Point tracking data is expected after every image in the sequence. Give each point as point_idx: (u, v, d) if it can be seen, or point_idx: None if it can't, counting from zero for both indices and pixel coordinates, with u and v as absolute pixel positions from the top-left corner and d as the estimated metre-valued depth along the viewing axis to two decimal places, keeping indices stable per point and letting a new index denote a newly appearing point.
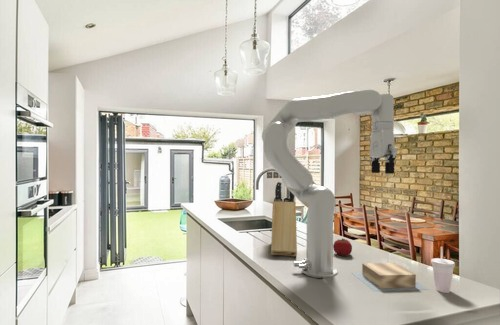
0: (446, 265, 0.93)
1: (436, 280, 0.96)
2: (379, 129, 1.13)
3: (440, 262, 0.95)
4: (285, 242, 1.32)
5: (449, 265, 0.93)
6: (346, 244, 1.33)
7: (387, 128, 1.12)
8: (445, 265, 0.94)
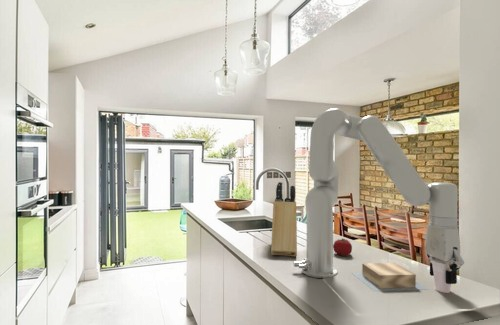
0: None
1: (436, 280, 0.96)
2: (441, 226, 0.94)
3: (440, 262, 0.95)
4: (285, 242, 1.32)
5: None
6: (346, 244, 1.33)
7: (451, 226, 0.93)
8: (445, 265, 0.94)
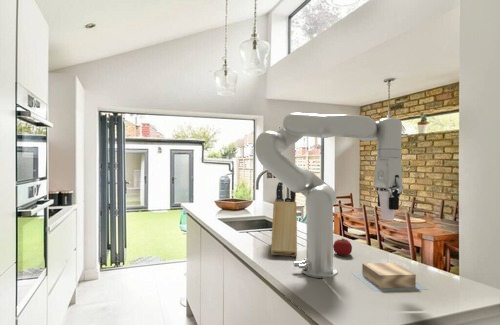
0: None
1: (381, 208, 1.04)
2: (385, 157, 1.01)
3: (385, 191, 1.03)
4: (285, 242, 1.32)
5: None
6: (346, 244, 1.33)
7: (394, 157, 1.01)
8: (389, 193, 1.01)
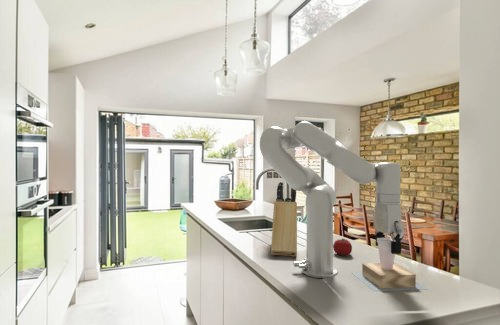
0: (388, 243, 1.01)
1: (380, 257, 1.04)
2: (384, 202, 1.01)
3: (384, 240, 1.03)
4: (285, 242, 1.32)
5: None
6: (346, 244, 1.33)
7: (393, 202, 1.01)
8: (387, 243, 1.01)
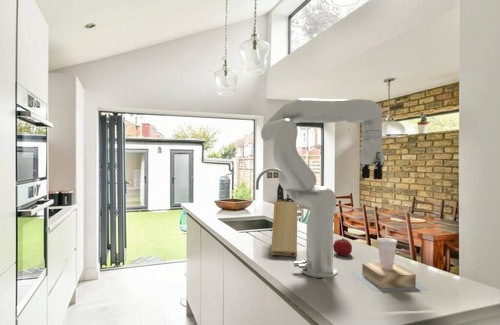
0: (388, 243, 1.01)
1: (380, 257, 1.04)
2: (368, 138, 1.21)
3: (384, 240, 1.03)
4: (285, 242, 1.32)
5: (391, 243, 1.01)
6: (346, 244, 1.33)
7: (376, 137, 1.20)
8: (387, 243, 1.01)
